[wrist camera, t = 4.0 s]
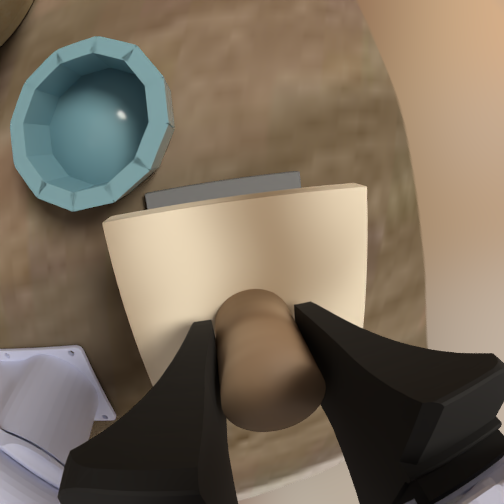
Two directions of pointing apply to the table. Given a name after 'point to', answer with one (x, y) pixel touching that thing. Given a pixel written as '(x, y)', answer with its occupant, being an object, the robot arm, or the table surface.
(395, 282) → the table surface
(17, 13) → the planter bowl
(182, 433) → the robot arm
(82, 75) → the bowl
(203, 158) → the table surface
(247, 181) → the mat
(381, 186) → the table surface
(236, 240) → the lid
